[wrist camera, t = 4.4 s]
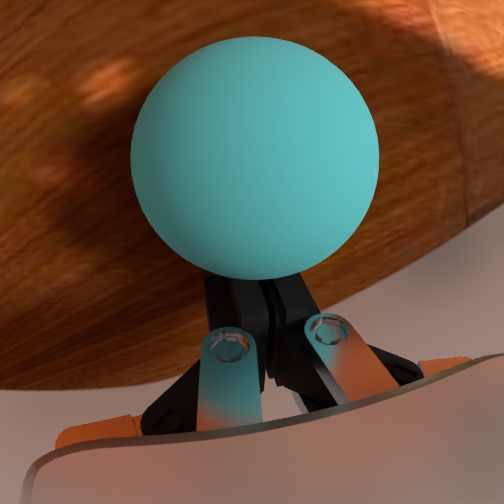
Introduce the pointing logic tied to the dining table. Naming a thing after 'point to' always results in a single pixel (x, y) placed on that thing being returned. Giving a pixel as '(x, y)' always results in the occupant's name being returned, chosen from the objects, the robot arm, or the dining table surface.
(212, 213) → the ball
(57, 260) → the dining table surface
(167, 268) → the dining table surface
